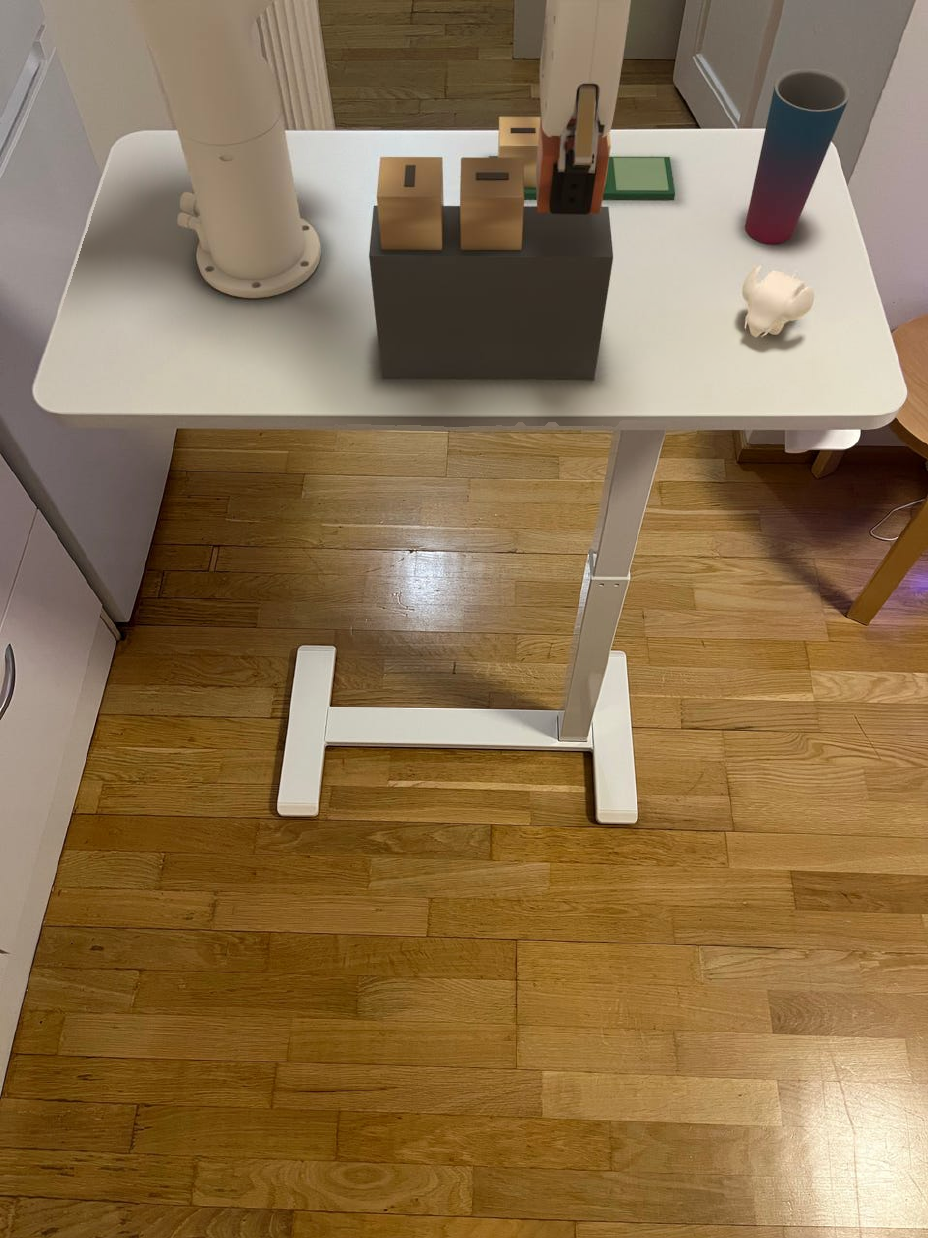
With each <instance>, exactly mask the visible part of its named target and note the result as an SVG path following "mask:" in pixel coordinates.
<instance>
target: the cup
mask: <svg viewBox="0 0 928 1238" xmlns="http://www.w3.org/2000/svg"><path fill="white" fill-rule="evenodd" d="M850 95H851V91H850V88H849V86H848V84H847V83H846V82H845V81H844V80H843V79H842V78H841V77H839V76H837V75H836V74H834V73H831V72H830V71H827V70H823V69H817V68H808V67H804V68H796V69H791V70H788V71H786V72H783V73H782V74H781V75H779V76H778V77H777V79H776V80H775V83H774V87H773V92H772V96H771V100H770V106H769V109H768V110H769V111H768V115H767V120H766V124H765V129H764V134H763V139H762V144H761V149H760V153H759V158H758V161H757V167H756V172H755V177H754V181H753V186H752V190H751V196H750V201H749V205H748V210H747V215H746V220H745V225H744V227H745V231H746V233H747V234H748V236H750V238H752V239H754V240H755V241H757V242H760V243H763V244H768V245H777V244H782V243H785V242H787V241H788V240H790V239H791V238H792V237H793V235H794V232H795V230H796V228H797V225H798V222H799V221H800V218H801V215H802V213H803V210H804V208H805V206H806V203H807V201H808V199H809V197H810V194H811V191H812V189H813V187H814V184H815V181H816V179H817V177H818V174H819V173H820V169H821V168H822V165H823V162H824V160H825V157H826V155H827V152H828V151H829V149H830V146H831V144H832V141H833V138H834V136H835V133H836V131H837V128H838V126H839V124H840V121H841V119H842V116H843V114H844V112H845V109H846V107H847V104H848V102H849V100H850Z"/></svg>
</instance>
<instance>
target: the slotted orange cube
mask: <svg viewBox="0 0 928 1238" xmlns="http://www.w3.org/2000/svg"><path fill="white" fill-rule="evenodd" d="M575 123H576V119H570V121H569V123H568V124H575ZM559 139H560V136H552V137H548V136H547V135H546V134H545V133H544V131H543V129H542V121H541V118H540V130H539V141H538V152H537V164H536V193H537V199H536V206H537V212H538V213H551V212H550V206H549V205H550V195H551V185H552V176H553V166H554V164H558V152H559ZM574 141H575V138H568V144H567V152H568V150H569V149H573V148H574ZM609 157H610V155H609V152H608V142H607V135H606V136H605V137H603V138H601V135H600V134H599V138H598V147H597V157H596V167H597V170H596V176H595V183H594V190H593V197H592V204H591V210H590V212H589V213H588V214H600V211H601V207H602V204H603V199H602V198H603V192H604V186H605V179H606V173H607V167H608V160H609Z"/></svg>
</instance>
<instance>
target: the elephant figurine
mask: <svg viewBox="0 0 928 1238" xmlns="http://www.w3.org/2000/svg"><path fill="white" fill-rule="evenodd" d="M761 268H762V265H761V264H759V265H756V266H755V267H753V268H751V271H749V273H748V275H746V277H745V279H744V282H743V285H742V288H741V289H742V291H741V293H742V298H743V300H744V301H745V302H746V303H747V307H748V311H747V315H746V316H745V319H744V320H745V321H744V329H745V330H746V329H747V325H748V328H749V332H750V335H751V336H753V337H755V338H757V337H759V336H760V334H762V333H764V334H762V335H761V336H760V338H763V337H764V336H766V335H767V334H771V335H773V336H777V335H779V334H780V333H781V332H782V330H783V329H784V326H785V324H787V323H788V322H792V321H796V320H798V319H800V318H802V317H804V316H805V315H807V314H808V313H809V312H811V310H812V307H813V304H814V299H815V294H814V293H815V292H814V291H813V288H812V287H811V286H806V287H805V283H804V282H803V281H802V280H800V279H798V278H796V277H795V276H796V274H798V271H797V270H796V271H794V274H793V275H792V276H791V275H788V274H787V273H785V272H782V271H780V270H777V269H773V270H771V271H770V272H769V273H767V274H766V276H765V277H764V278H763V279H762V280H761V281H759V282H758V278H759V275H760V272H761Z"/></svg>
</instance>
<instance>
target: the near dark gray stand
mask: <svg viewBox="0 0 928 1238" xmlns="http://www.w3.org/2000/svg"><path fill="white" fill-rule="evenodd" d="M443 162H444V161H443V157H442V156H380V157H379V168H378V179H377V189H376V204H377V205H373V209H372V220H371V230H370V231H371V232H370V239H369V252H368V258H369V259H368V260H369V269H370V270H369V271H370V277H371V279H370V280H371V287H372V298H373V305H374V306H373V307H374V315H375V326H376V334H377V344H378V352H379V362H380V363H379V364H380V371H381V379H385V380H387V379H388V380H389V379H390V380H391V379H394V380H396V379H398V380H399V379H400V380H403V379H404V380H518V381H519V380H523V381H525V380H526V381H527V380H529V381H530V380H535V381H536V380H537V381H538V380H539V381H546V380H547V381H561V380H562V381H594V380H595V379H596V372H597V365H598V358H599V353H600V346H601V340H602V339H601V338H602V334H603V333H602V332H603V328H604V319H605V314H606V307H607V300H608V294H609V288H610V281H611V275H612V268H613V261H614V250H613V249H614V248H613V240H612V239H613V238H612V228H611V219H610V209H609V208H610V207H609V206H601V211H600V214H585V215H584V214H552V213H538V212H537V205H527V206H526V205H525V199H524V168H523V158H489V157H471V156H470V157H467V156H466V157H464V156H463V157H461V158H460V182H459V183H460V184H459V187H460V189H459V205H444V204H445V202H444V201H445V199H444V169H443V168H444V167H443Z"/></svg>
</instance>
